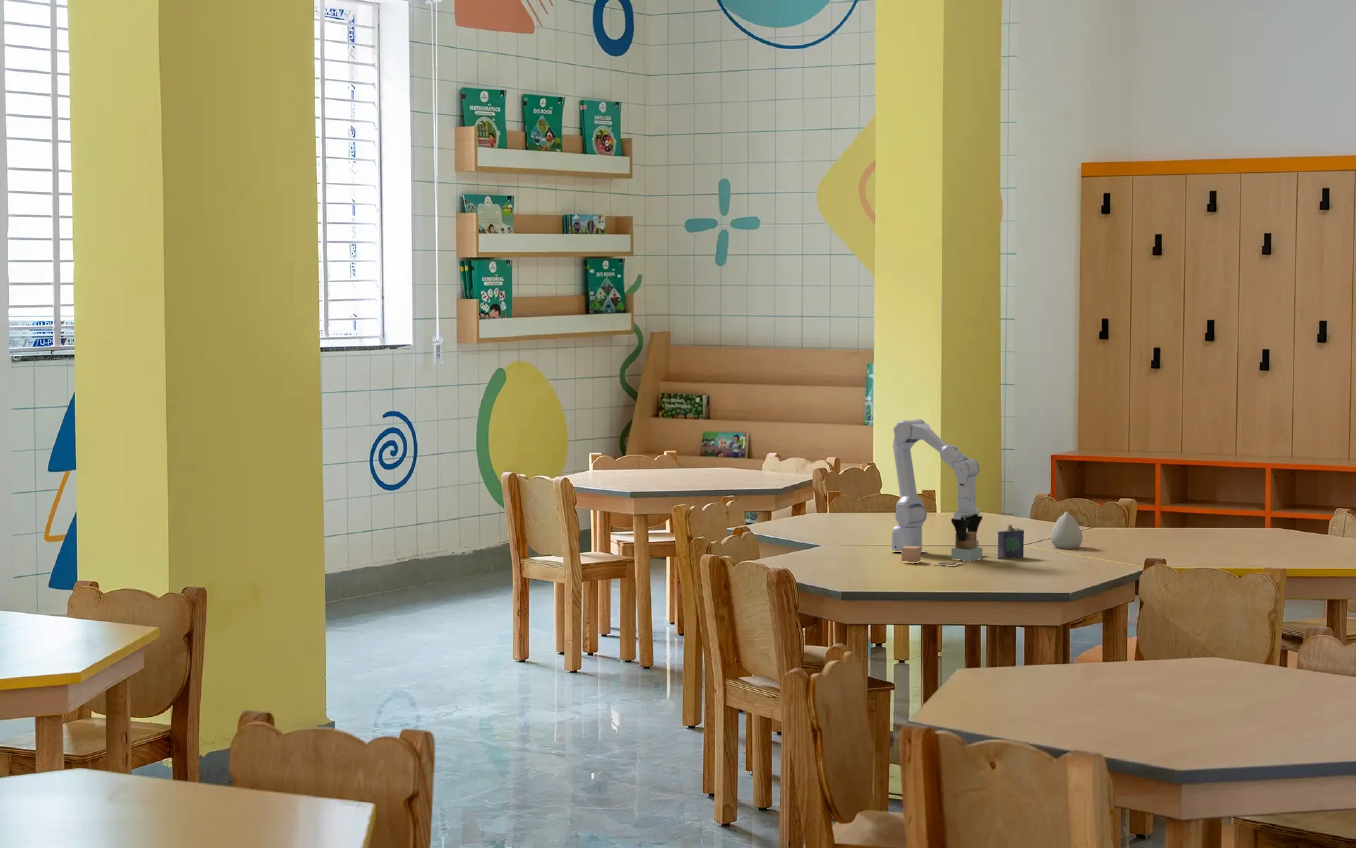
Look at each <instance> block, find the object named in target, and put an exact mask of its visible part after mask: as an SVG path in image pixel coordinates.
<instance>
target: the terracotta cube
mask: <svg viewBox="0 0 1356 848" xmlns="http://www.w3.org/2000/svg"><path fill="white" fill-rule="evenodd" d="M921 554H922V553H921V546H904V547H902V553H901V562H902V561H908V562H918V561H920V560H921V559H922V557H921V556H922V555H921ZM921 561H922V560H921Z"/></svg>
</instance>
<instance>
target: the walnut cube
mask: <svg viewBox="0 0 1356 848" xmlns="http://www.w3.org/2000/svg"><path fill="white" fill-rule="evenodd" d="M976 540H977V534H976V532H968V530H967V531H966V539H965V541H958V538H957V534H956V533H955V548H956V549H974V548H976Z"/></svg>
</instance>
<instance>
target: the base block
mask: <svg viewBox="0 0 1356 848" xmlns="http://www.w3.org/2000/svg"><path fill="white" fill-rule="evenodd" d="M952 558H953V559H960V560H965V561H973V562H975V561H974V560H978V559H981V558H982V559H983V547H980V546H979V547H976V548H974V549H956V547H951V559H952ZM965 561H964V562H965ZM978 561H979V560H978Z"/></svg>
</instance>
